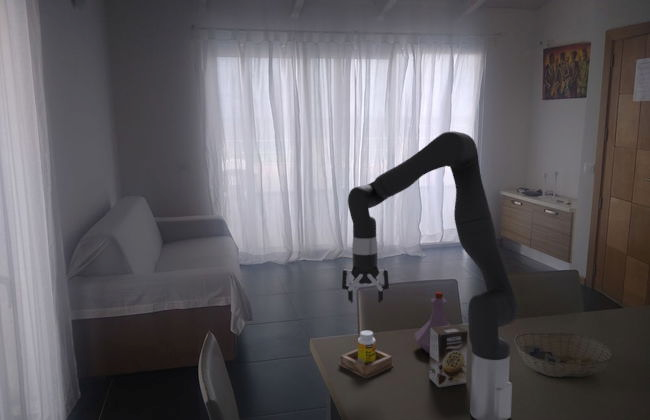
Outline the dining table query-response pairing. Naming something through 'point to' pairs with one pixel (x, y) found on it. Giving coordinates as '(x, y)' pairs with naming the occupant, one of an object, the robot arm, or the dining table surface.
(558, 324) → the dining table surface
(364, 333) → the supplement bottle
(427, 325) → the flask
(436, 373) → the coffee box
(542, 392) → the dining table surface
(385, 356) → the walnut collar stand
